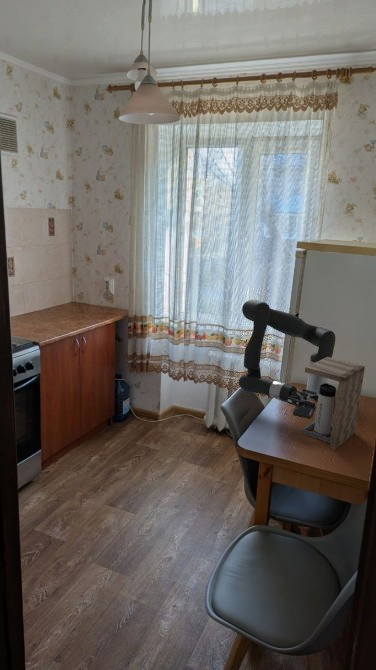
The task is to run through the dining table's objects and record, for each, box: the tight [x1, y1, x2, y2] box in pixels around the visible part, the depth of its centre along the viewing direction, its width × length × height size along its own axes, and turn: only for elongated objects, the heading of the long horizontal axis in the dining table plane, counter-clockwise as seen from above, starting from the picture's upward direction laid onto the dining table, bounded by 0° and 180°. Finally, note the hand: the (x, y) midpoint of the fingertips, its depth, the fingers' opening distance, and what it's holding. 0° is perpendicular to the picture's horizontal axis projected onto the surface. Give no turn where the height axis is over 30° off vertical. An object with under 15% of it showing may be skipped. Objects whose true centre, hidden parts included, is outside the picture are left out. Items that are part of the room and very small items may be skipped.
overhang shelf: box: [304, 357, 366, 451], centre depth 180 cm, size 20×16×28 cm
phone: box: [292, 406, 316, 419], centre depth 206 cm, size 8×1×15 cm
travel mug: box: [313, 382, 337, 437], centre depth 182 cm, size 6×7×20 cm
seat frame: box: [300, 420, 333, 444], centre depth 184 cm, size 12×12×2 cm
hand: (319, 403), depth 183 cm, fingers open, 8 cm apart
